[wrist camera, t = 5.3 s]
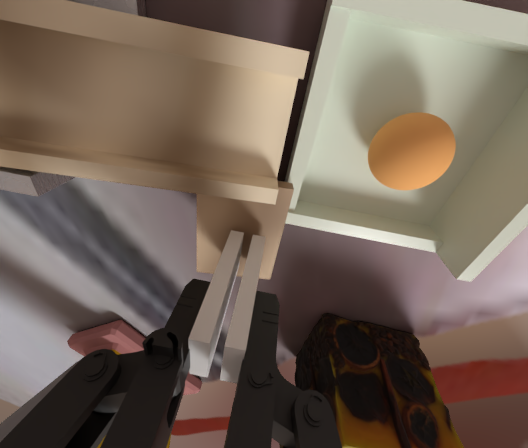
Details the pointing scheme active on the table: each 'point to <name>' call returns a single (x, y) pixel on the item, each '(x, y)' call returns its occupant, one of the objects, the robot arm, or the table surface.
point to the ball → (411, 151)
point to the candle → (375, 386)
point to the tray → (410, 101)
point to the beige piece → (152, 113)
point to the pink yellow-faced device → (85, 342)
